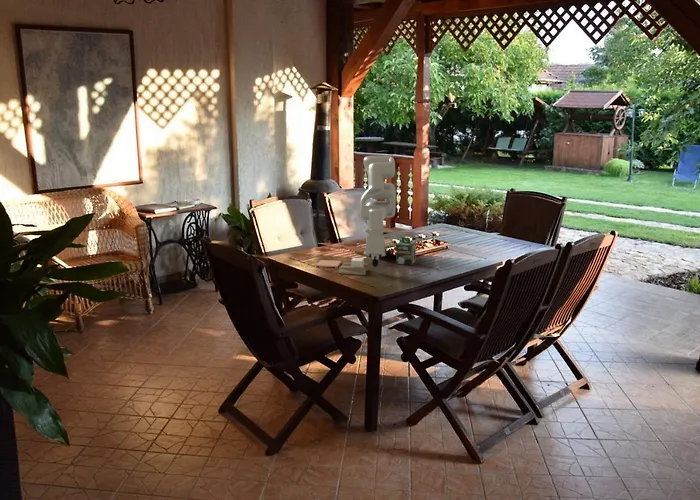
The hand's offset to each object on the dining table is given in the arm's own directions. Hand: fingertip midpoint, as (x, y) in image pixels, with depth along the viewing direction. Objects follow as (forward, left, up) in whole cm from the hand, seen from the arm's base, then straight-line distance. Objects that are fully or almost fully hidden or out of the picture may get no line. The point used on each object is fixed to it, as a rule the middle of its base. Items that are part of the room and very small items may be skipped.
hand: (375, 266), depth 344 cm
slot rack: (-1, -12, -4) cm, 12 cm away
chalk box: (-25, +14, -4) cm, 29 cm away
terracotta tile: (-13, -28, -4) cm, 31 cm away
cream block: (-1, -10, -4) cm, 10 cm away
